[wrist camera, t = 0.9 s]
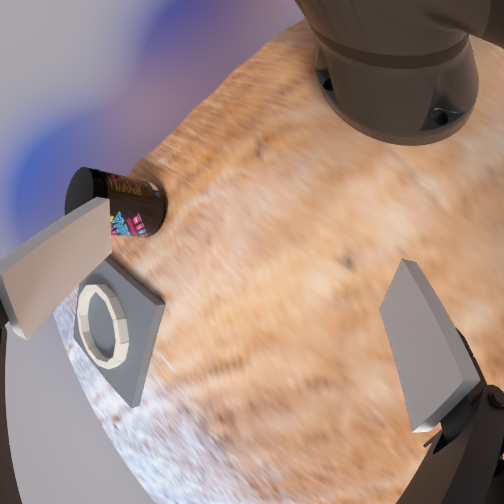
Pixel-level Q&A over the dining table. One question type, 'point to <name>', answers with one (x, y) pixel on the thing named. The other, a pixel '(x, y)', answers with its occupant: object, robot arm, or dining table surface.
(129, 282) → the ring board
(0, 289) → the robot arm
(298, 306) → the dining table surface
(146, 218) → the supplement container
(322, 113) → the dining table surface
